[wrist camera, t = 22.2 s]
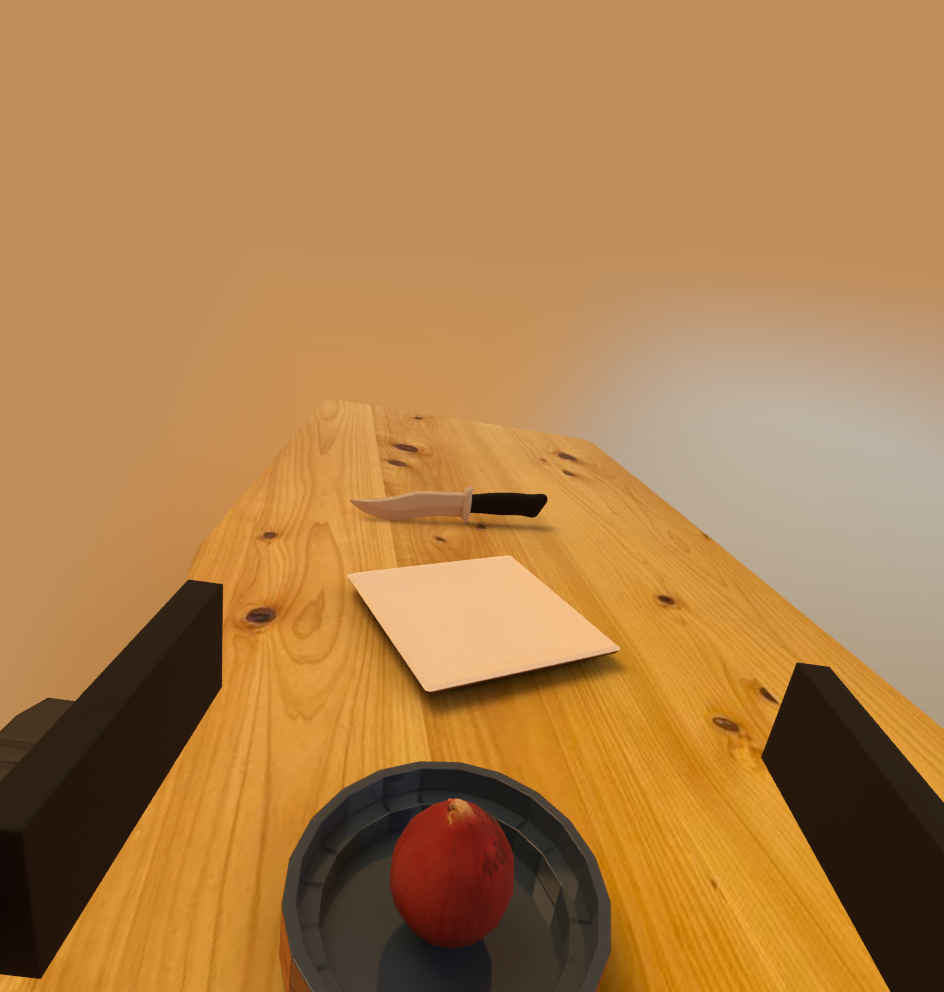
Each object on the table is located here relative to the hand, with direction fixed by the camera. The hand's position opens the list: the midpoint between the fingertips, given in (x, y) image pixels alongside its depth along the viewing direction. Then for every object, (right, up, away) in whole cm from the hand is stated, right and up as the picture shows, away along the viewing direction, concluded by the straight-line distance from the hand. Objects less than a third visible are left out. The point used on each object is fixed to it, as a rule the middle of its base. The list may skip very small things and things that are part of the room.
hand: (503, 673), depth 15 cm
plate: (-1, -8, +45) cm, 46 cm away
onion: (-2, -17, +17) cm, 24 cm away
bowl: (-2, -18, +17) cm, 25 cm away
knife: (-4, 0, +67) cm, 67 cm away
